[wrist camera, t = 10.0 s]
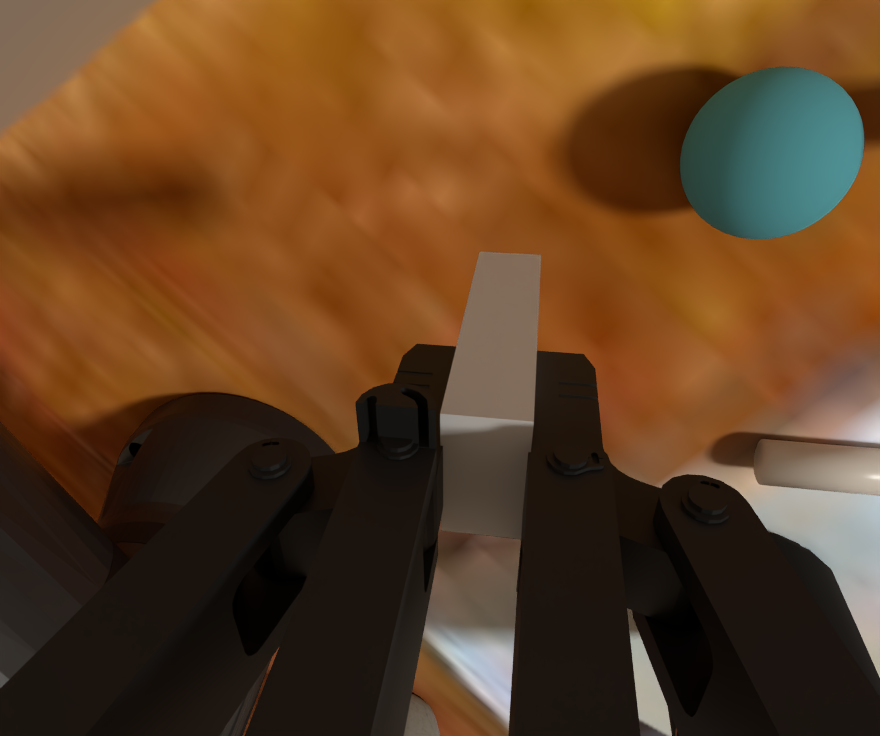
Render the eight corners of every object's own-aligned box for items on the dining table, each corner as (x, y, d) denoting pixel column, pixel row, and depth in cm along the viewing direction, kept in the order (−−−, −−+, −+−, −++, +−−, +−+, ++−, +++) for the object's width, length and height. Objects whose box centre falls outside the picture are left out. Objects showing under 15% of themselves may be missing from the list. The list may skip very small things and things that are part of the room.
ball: (883, 241, 23) (752, 216, 28) (927, 58, 20) (774, 67, 26) (756, 265, 21) (640, 233, 26) (787, 65, 19) (653, 73, 24)
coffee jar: (632, 536, 39) (679, 893, 24) (823, 508, 36) (1013, 904, 21) (666, 639, 44) (723, 988, 29) (837, 623, 41) (999, 1009, 26)
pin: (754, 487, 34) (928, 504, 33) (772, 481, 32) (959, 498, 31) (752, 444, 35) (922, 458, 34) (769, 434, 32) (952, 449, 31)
